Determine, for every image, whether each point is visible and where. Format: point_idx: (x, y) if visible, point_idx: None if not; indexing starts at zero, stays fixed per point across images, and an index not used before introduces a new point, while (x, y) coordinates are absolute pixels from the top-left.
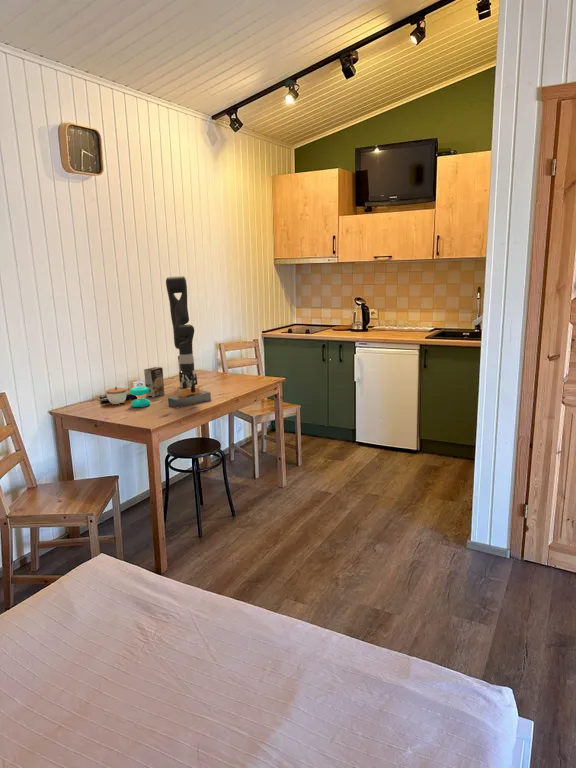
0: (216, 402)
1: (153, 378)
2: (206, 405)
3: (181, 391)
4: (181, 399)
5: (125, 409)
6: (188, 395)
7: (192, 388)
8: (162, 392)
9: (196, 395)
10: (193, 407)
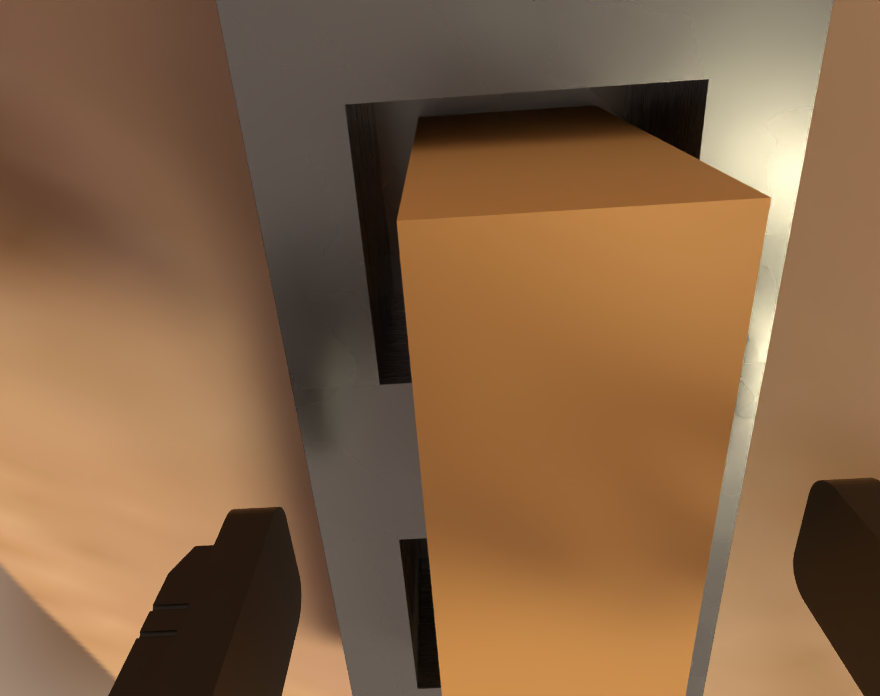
0: None
1: None
2: (62, 464)
3: (414, 211)
4: (230, 22)
5: None
6: None
7: (151, 660)
8: None
9: (326, 548)
10: (38, 205)
